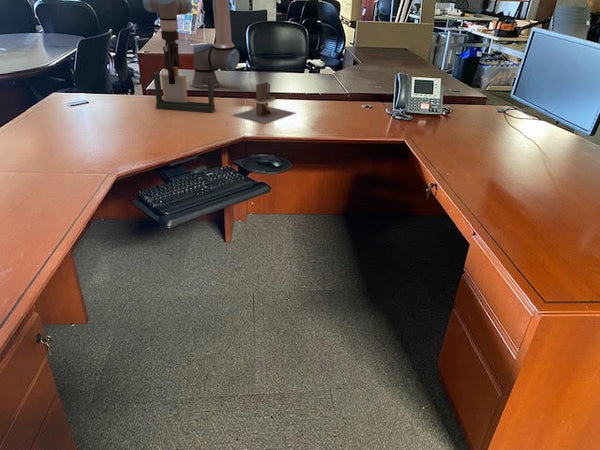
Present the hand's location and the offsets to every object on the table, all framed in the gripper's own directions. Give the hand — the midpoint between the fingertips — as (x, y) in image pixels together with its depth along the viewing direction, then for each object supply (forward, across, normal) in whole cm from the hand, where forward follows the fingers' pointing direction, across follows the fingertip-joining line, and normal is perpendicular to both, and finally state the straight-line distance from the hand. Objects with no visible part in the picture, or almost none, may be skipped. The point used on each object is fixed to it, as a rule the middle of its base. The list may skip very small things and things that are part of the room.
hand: (174, 82), depth 213 cm
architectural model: (+13, -2, +44) cm, 46 cm away
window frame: (+12, 0, +5) cm, 13 cm away
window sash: (+10, 0, 0) cm, 10 cm away
